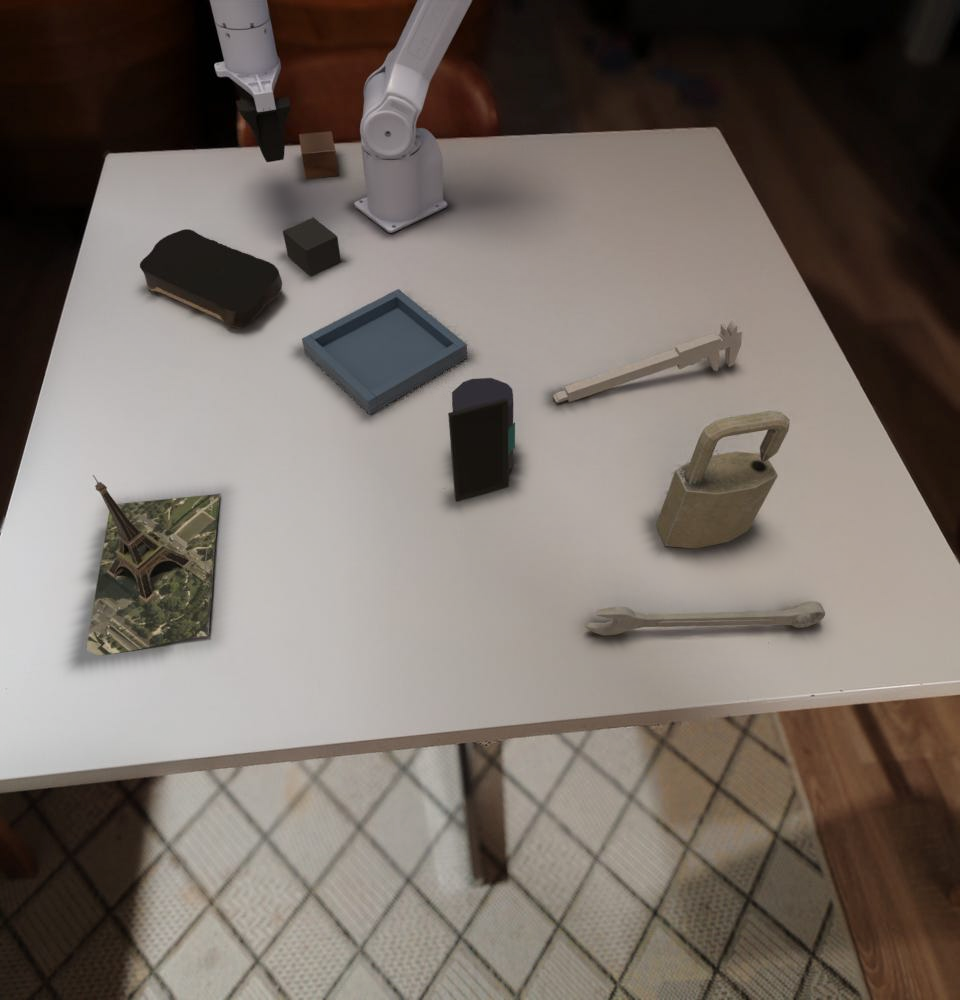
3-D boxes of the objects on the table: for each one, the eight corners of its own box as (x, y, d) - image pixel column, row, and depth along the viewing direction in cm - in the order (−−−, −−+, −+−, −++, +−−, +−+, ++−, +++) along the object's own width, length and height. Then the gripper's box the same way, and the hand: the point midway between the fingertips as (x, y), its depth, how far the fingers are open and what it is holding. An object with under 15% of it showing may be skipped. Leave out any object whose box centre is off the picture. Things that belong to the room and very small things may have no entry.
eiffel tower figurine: (213, 641, 63) (162, 554, 52) (84, 657, 62) (5, 572, 51) (221, 496, 72) (178, 396, 61) (108, 508, 71) (45, 409, 60)
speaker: (516, 501, 72) (516, 417, 64) (454, 502, 72) (447, 419, 64) (514, 444, 77) (514, 361, 69) (456, 445, 77) (450, 362, 69)
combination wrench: (830, 596, 63) (588, 600, 62) (835, 610, 62) (590, 615, 61) (812, 617, 66) (581, 622, 65) (816, 631, 65) (583, 636, 64)
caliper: (727, 361, 84) (744, 316, 79) (732, 368, 83) (749, 323, 78) (552, 398, 80) (558, 353, 75) (555, 405, 80) (562, 360, 75)
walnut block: (335, 156, 107) (331, 131, 104) (338, 175, 104) (335, 150, 101) (303, 159, 106) (298, 134, 103) (306, 179, 103) (301, 153, 101)
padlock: (752, 537, 70) (812, 428, 58) (668, 553, 69) (711, 444, 57) (734, 503, 72) (788, 391, 60) (652, 518, 71) (691, 406, 59)
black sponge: (294, 295, 89) (288, 269, 86) (245, 337, 85) (237, 311, 82) (189, 250, 94) (180, 223, 91) (137, 288, 89) (126, 261, 86)
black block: (318, 242, 95) (313, 216, 92) (341, 261, 93) (337, 236, 90) (287, 256, 93) (282, 230, 91) (310, 276, 91) (305, 250, 88)
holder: (399, 302, 89) (398, 288, 87) (467, 358, 84) (467, 344, 82) (304, 352, 84) (301, 338, 82) (369, 414, 78) (367, 401, 77)
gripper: (195, -5, 84) (226, 118, 95) (213, 53, 76) (244, 180, 87) (259, -13, 86) (282, 109, 97) (284, 44, 78) (306, 170, 89)
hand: (268, 143), depth 92 cm, fingers open, 7 cm apart
